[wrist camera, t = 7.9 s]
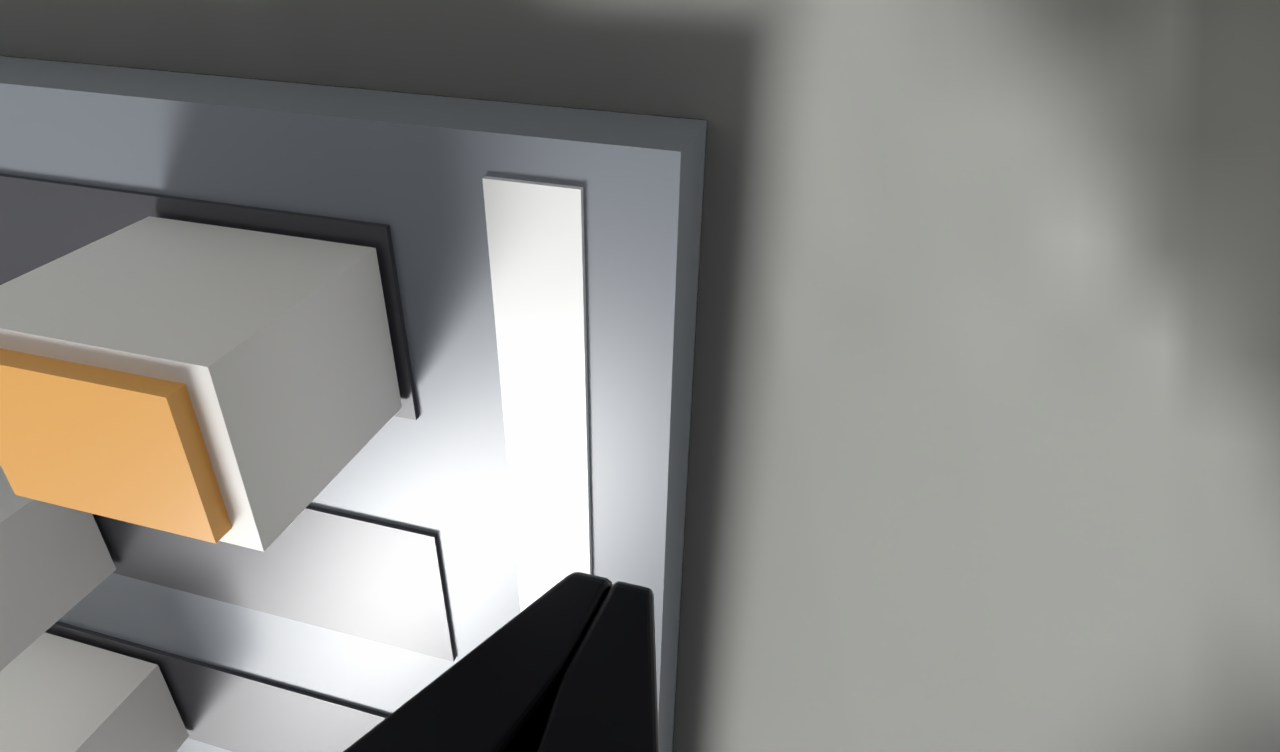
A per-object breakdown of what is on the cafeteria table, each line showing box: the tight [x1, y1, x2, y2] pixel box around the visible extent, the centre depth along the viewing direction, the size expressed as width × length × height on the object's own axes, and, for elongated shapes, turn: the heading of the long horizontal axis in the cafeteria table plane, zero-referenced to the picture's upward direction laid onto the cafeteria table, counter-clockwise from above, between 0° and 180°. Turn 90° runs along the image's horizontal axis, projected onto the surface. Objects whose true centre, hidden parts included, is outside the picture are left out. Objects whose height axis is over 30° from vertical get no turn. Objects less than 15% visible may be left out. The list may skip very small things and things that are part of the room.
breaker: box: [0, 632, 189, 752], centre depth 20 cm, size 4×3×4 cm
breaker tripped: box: [0, 216, 402, 552], centre depth 12 cm, size 4×3×4 cm
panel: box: [0, 56, 707, 752], centre depth 18 cm, size 21×18×2 cm
